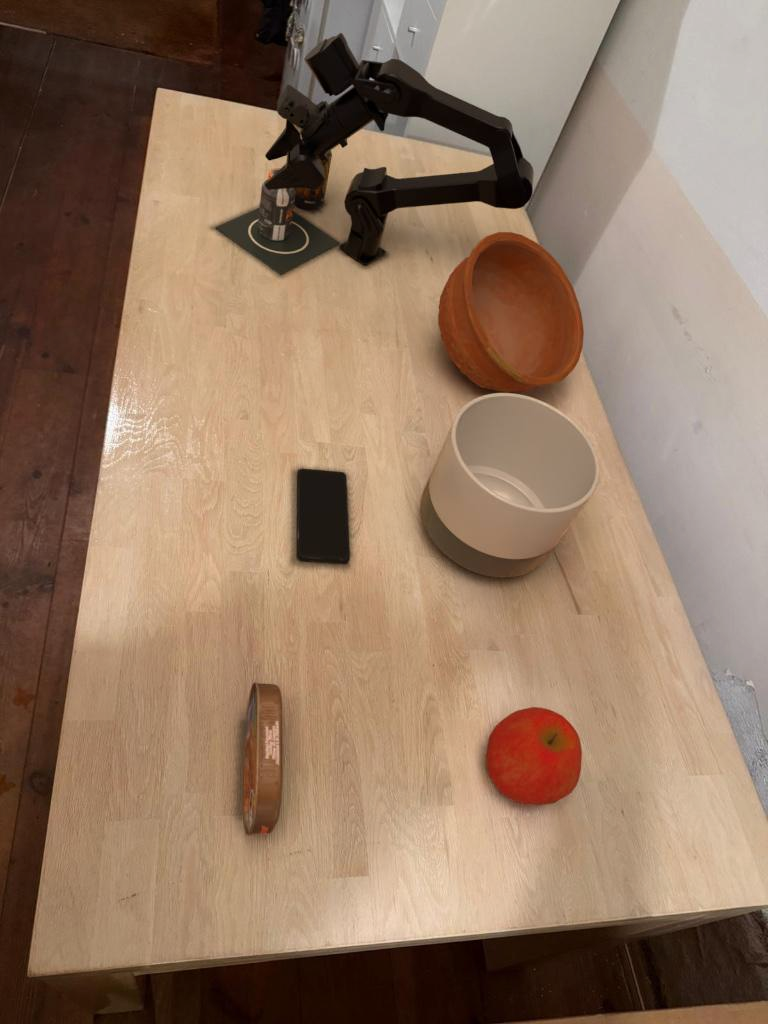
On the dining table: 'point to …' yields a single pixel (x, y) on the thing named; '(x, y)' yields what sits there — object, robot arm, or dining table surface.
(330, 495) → the smartphone
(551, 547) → the planter
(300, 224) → the slate board
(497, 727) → the apple
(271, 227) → the pill bottle
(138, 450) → the dining table surface
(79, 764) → the dining table surface
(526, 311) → the bowl
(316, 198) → the beverage can
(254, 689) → the tin
